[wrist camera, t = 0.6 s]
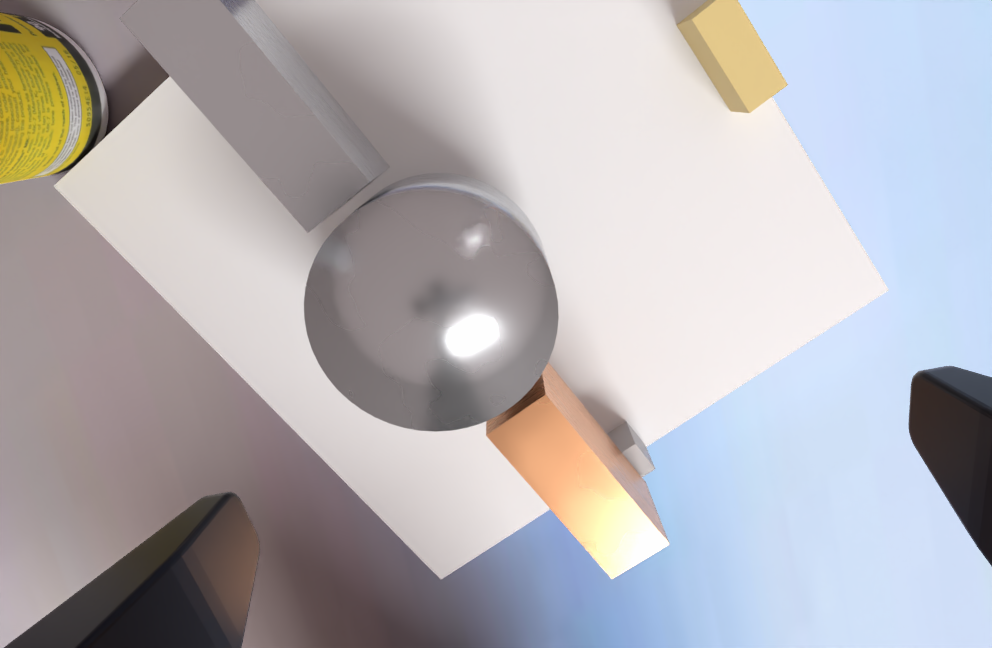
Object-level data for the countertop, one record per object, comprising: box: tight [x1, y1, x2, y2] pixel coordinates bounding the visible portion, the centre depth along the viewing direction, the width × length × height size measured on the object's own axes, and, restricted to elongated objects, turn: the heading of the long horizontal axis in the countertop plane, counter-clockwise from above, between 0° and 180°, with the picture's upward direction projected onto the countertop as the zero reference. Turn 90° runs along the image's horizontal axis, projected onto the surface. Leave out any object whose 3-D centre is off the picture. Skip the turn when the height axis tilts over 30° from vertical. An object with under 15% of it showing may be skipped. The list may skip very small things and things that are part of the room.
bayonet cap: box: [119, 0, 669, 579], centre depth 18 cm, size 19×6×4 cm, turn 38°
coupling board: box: [54, 0, 888, 579], centre depth 21 cm, size 19×19×3 cm
